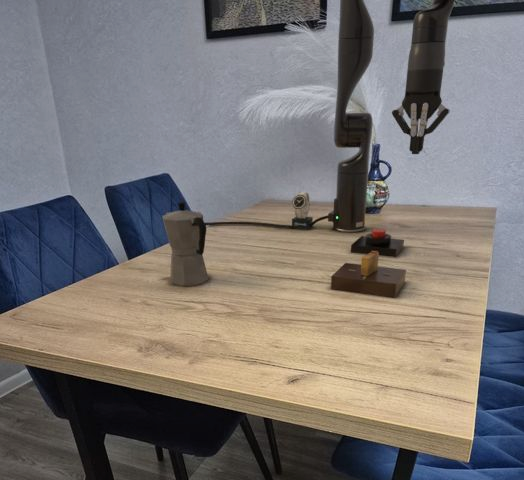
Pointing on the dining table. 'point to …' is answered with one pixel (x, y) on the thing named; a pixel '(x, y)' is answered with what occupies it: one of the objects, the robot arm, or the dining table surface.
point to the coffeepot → (186, 246)
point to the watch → (301, 211)
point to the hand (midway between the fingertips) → (415, 153)
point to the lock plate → (368, 280)
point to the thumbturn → (369, 263)
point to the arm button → (378, 233)
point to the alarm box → (377, 245)
